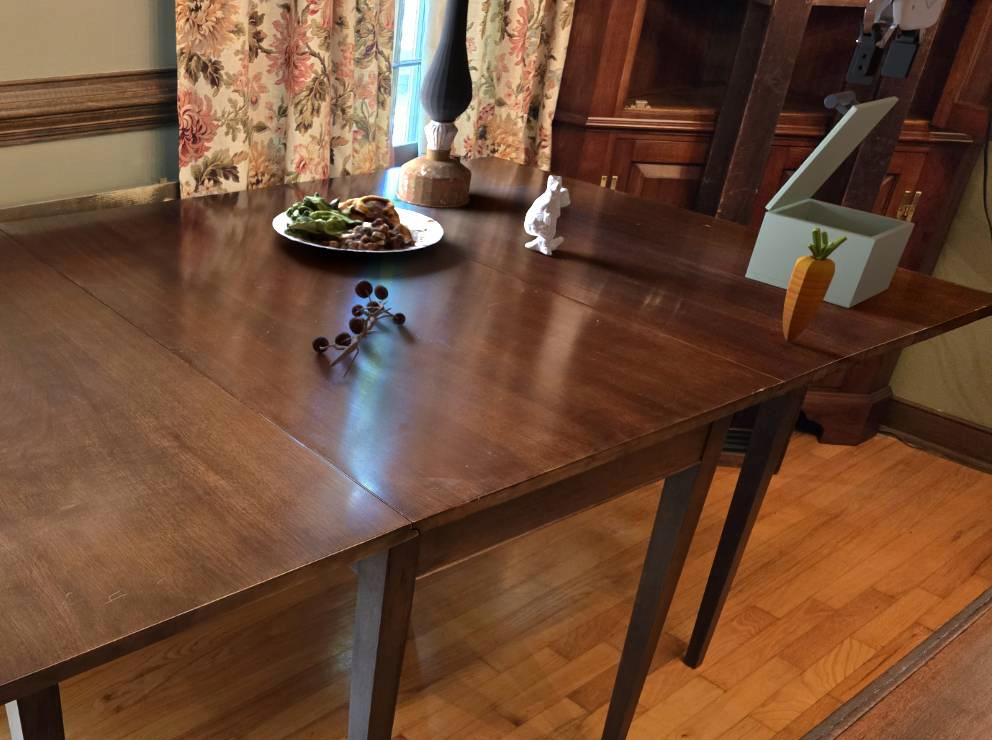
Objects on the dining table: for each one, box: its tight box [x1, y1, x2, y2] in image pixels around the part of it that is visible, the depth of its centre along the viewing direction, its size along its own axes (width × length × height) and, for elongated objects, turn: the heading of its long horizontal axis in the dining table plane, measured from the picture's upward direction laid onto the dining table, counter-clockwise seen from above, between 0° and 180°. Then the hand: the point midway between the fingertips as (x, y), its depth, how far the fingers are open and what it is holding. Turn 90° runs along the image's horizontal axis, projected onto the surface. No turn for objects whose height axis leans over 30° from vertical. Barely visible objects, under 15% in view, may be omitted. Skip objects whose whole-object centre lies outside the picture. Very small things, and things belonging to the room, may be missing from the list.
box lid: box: [765, 90, 900, 211], centre depth 142 cm, size 17×14×6 cm
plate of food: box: [272, 192, 444, 253], centre depth 157 cm, size 28×28×6 cm
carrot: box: [782, 228, 847, 343], centre depth 124 cm, size 5×5×15 cm
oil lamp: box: [396, 0, 474, 209], centre depth 169 cm, size 14×15×40 cm
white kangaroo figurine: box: [524, 174, 571, 256], centre depth 154 cm, size 8×7×12 cm
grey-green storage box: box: [744, 197, 916, 309], centre depth 146 cm, size 16×14×10 cm
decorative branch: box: [311, 279, 407, 379], centre depth 122 cm, size 11×9×30 cm
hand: (876, 80), depth 119 cm, fingers open, 9 cm apart
